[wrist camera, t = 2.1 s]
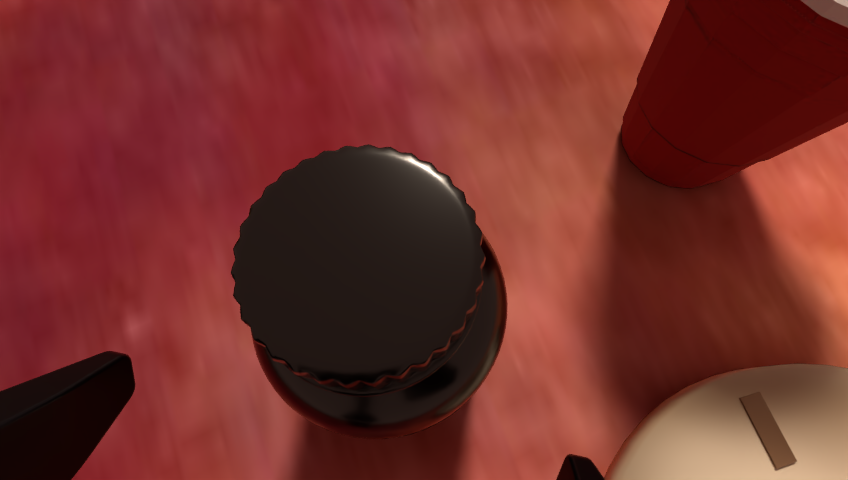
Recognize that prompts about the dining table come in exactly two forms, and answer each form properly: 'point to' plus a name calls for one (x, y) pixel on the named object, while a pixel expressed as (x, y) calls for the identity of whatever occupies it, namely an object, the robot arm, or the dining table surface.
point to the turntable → (745, 428)
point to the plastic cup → (736, 86)
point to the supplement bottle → (369, 292)
